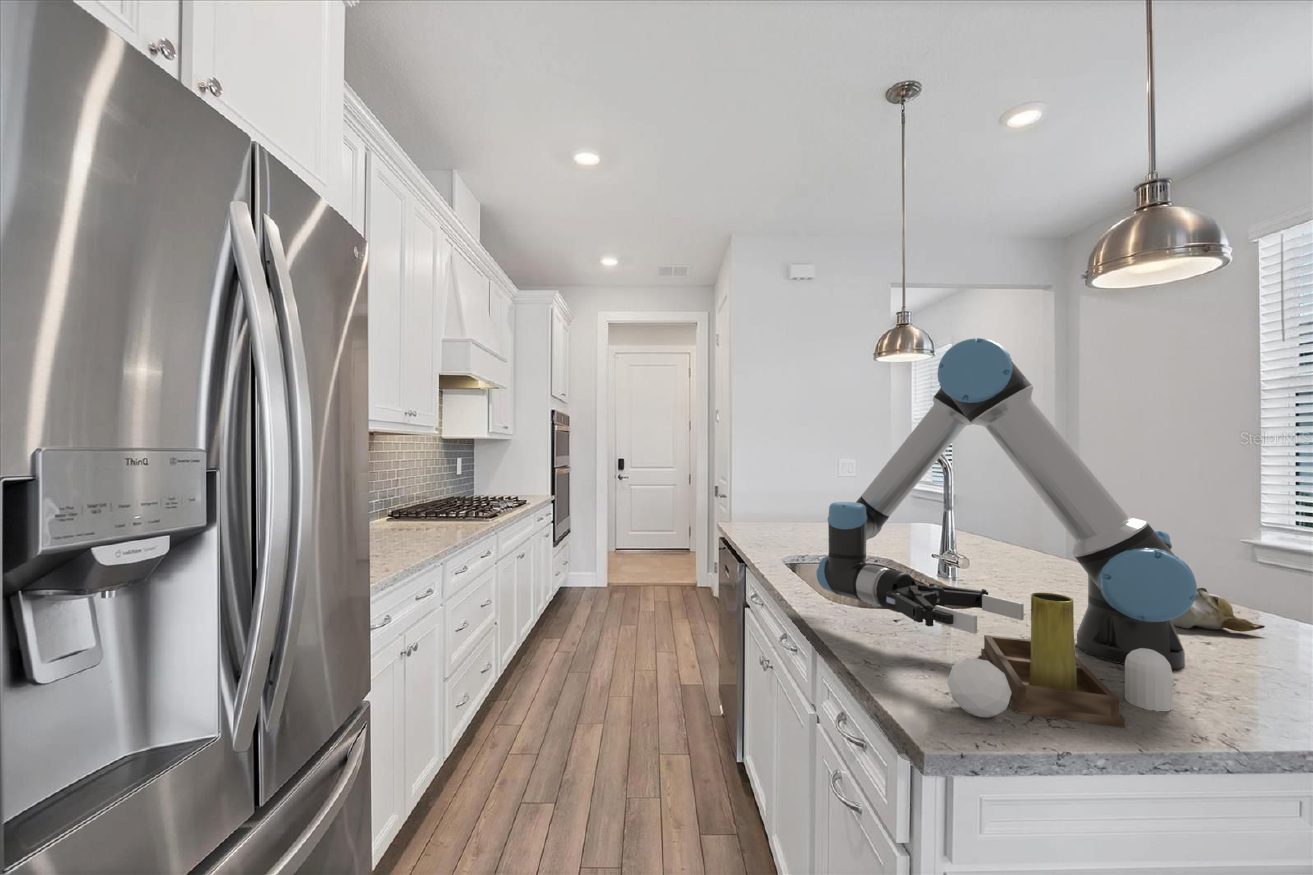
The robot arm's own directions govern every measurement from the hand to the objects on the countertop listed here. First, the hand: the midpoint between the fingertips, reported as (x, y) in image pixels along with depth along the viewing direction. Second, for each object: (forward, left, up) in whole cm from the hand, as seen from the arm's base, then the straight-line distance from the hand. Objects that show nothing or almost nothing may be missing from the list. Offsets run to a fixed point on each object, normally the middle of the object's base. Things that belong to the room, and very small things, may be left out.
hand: (1000, 618), depth 91 cm
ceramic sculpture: (-47, -46, -11) cm, 67 cm away
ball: (+5, +13, -10) cm, 18 cm away
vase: (-6, +5, -9) cm, 12 cm away
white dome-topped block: (-19, +1, -10) cm, 22 cm away
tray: (-6, -1, -10) cm, 12 cm away
